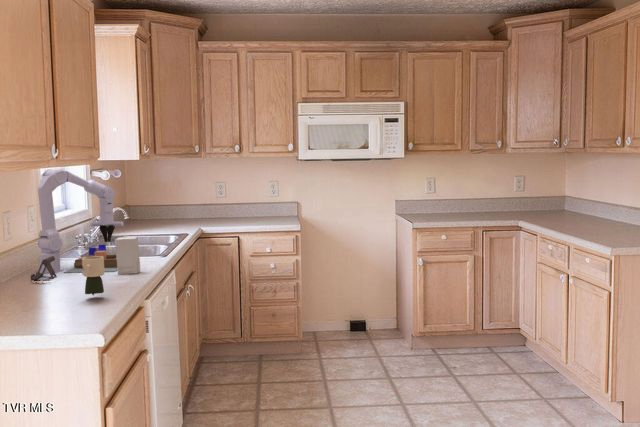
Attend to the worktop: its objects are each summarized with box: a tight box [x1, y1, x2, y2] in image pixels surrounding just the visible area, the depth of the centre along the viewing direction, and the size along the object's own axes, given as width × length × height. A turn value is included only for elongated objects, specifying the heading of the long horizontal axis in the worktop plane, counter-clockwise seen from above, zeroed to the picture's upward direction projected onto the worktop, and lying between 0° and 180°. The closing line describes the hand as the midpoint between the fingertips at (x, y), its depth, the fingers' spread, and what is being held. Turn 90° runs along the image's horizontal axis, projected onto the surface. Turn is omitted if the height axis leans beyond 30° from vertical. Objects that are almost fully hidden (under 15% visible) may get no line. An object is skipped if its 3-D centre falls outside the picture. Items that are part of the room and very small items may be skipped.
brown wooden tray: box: [73, 254, 117, 268], centre depth 272 cm, size 14×20×3 cm
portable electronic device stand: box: [30, 256, 58, 282], centre depth 244 cm, size 9×8×8 cm
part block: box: [94, 250, 107, 259], centre depth 272 cm, size 4×4×5 cm
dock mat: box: [63, 266, 118, 274], centre depth 264 cm, size 16×21×1 cm
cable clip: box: [88, 244, 107, 255], centre depth 295 cm, size 12×4×6 cm, turn 175°
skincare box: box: [114, 236, 141, 275], centre depth 253 cm, size 8×6×15 cm
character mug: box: [82, 256, 105, 296], centre depth 212 cm, size 11×7×13 cm, turn 0°
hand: (107, 241), depth 282 cm, fingers closed
